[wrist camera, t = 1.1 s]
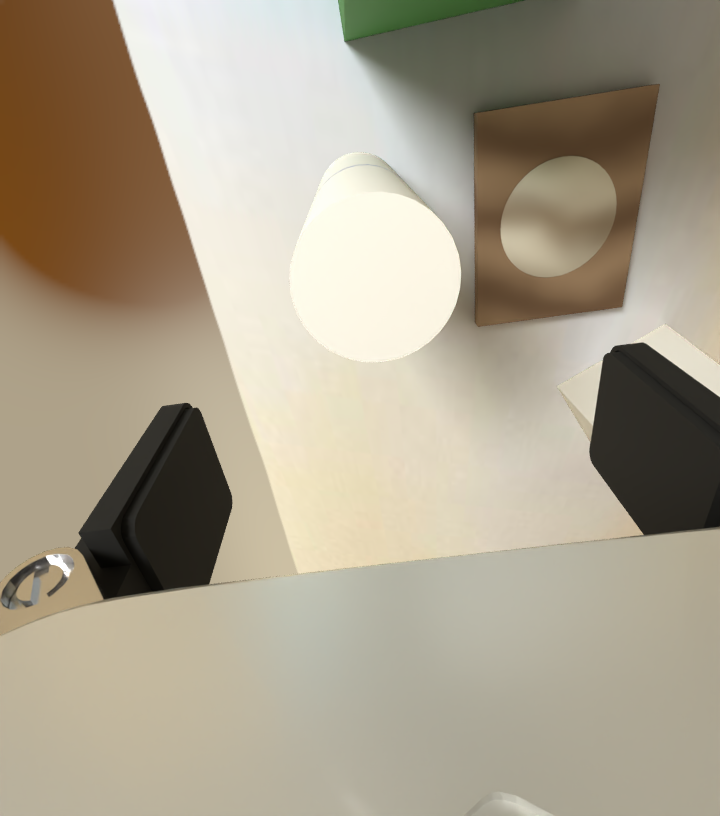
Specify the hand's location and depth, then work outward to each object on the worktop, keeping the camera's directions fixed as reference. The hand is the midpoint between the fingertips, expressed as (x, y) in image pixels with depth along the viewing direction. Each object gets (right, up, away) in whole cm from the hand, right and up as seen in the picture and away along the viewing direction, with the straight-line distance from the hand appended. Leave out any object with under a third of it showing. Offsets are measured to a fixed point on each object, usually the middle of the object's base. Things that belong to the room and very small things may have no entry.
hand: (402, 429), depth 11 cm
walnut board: (+16, +18, +31) cm, 39 cm away
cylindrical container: (-1, +19, +30) cm, 35 cm away
